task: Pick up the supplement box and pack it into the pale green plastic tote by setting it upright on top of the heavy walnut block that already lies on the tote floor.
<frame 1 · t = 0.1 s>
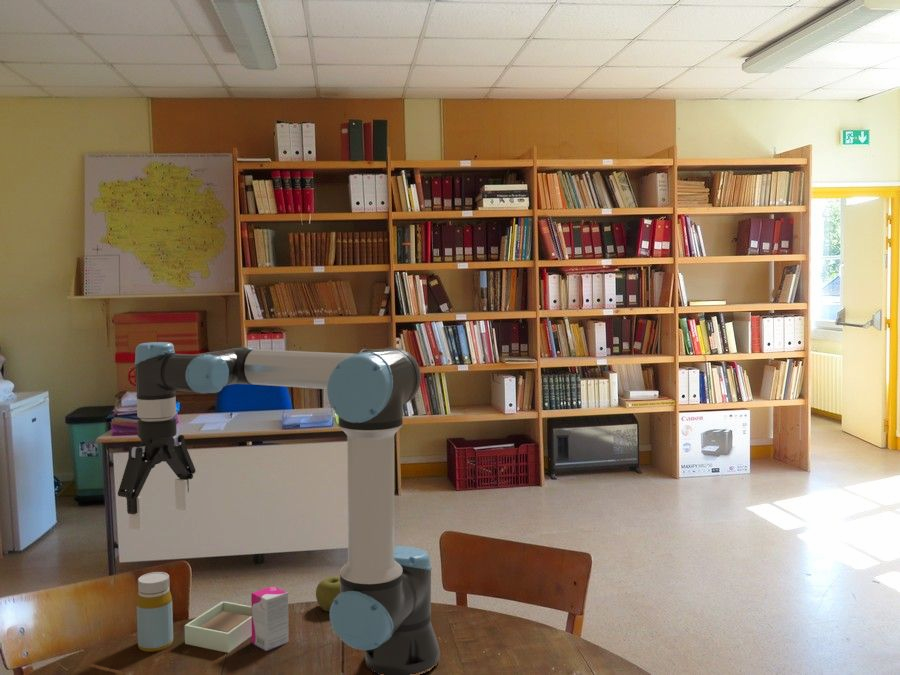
hand: (159, 518, 163), 28 cm above the table, fingers open, 13 cm apart
supplement box: (270, 645, 167), on the table
walnut block: (225, 634, 171), resting on tote
bottle: (155, 647, 167), on the table
tote: (225, 636, 171), on the table
apple: (333, 610, 185), on the table
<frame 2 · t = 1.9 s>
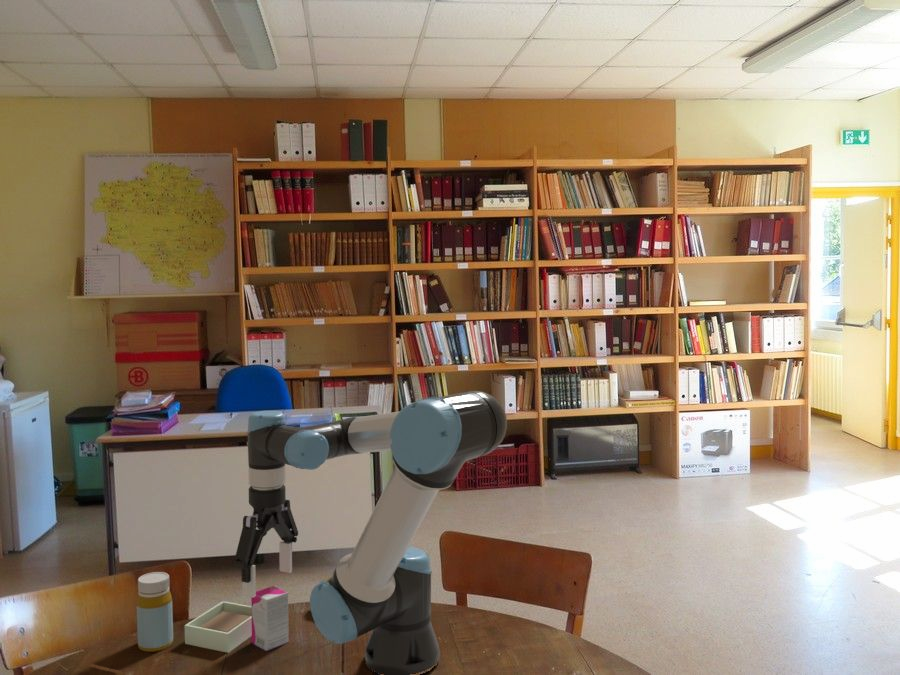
hand: (268, 583, 166), 13 cm above the table, fingers open, 13 cm apart
nothing on the table moved.
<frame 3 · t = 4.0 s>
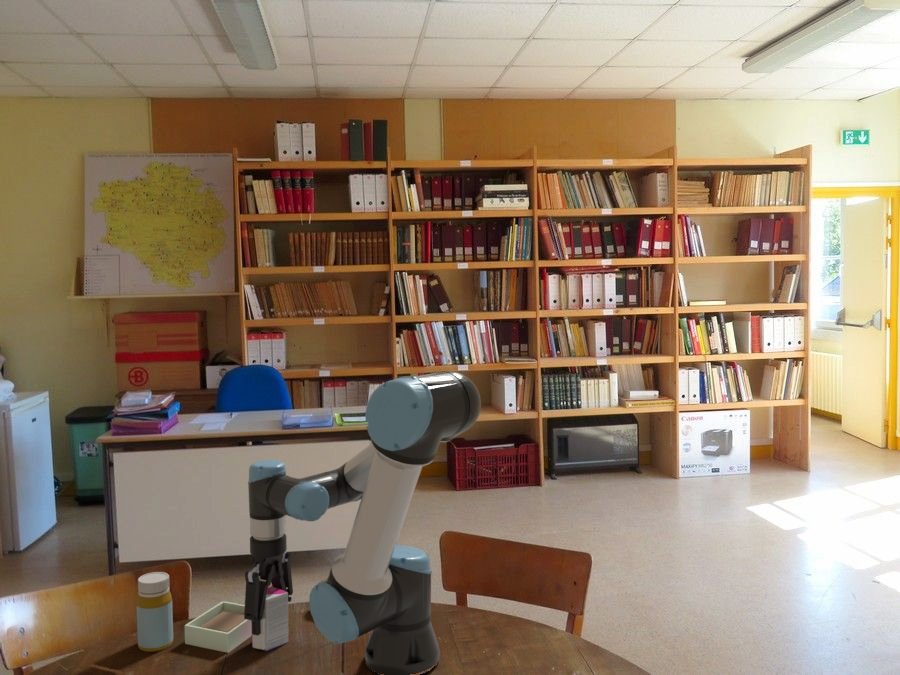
hand: (270, 639, 167), 1 cm above the table, fingers closed on supplement box, 7 cm apart
supplement box: (270, 645, 167), on the table, touching gripper
everything else where it was.
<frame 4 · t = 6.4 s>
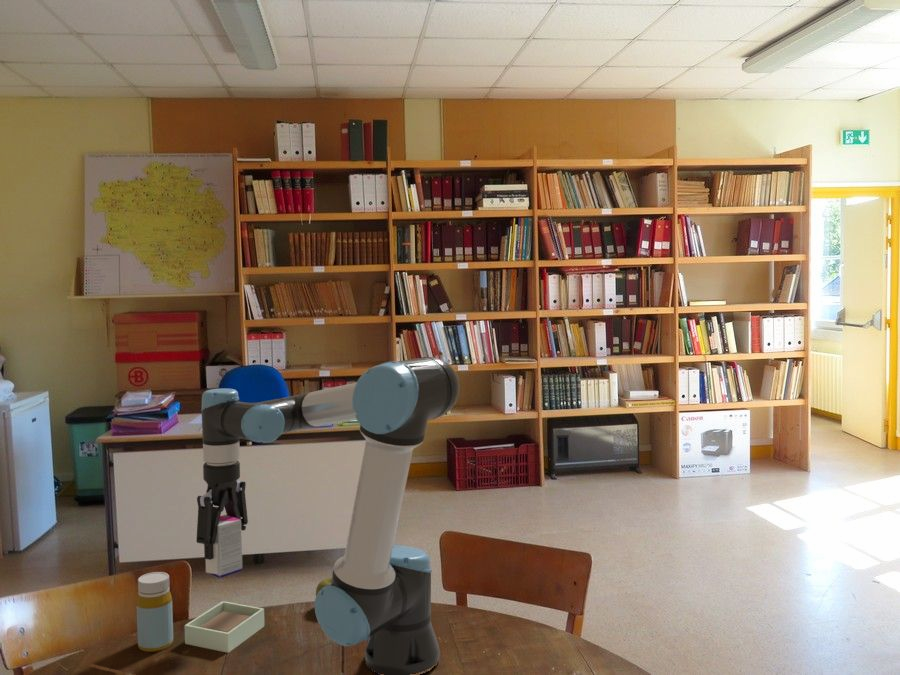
hand: (223, 565, 169), 16 cm above the table, fingers closed on supplement box, 7 cm apart
supplement box: (224, 572, 170), point 14 cm above the table, touching gripper
everything else where it was.
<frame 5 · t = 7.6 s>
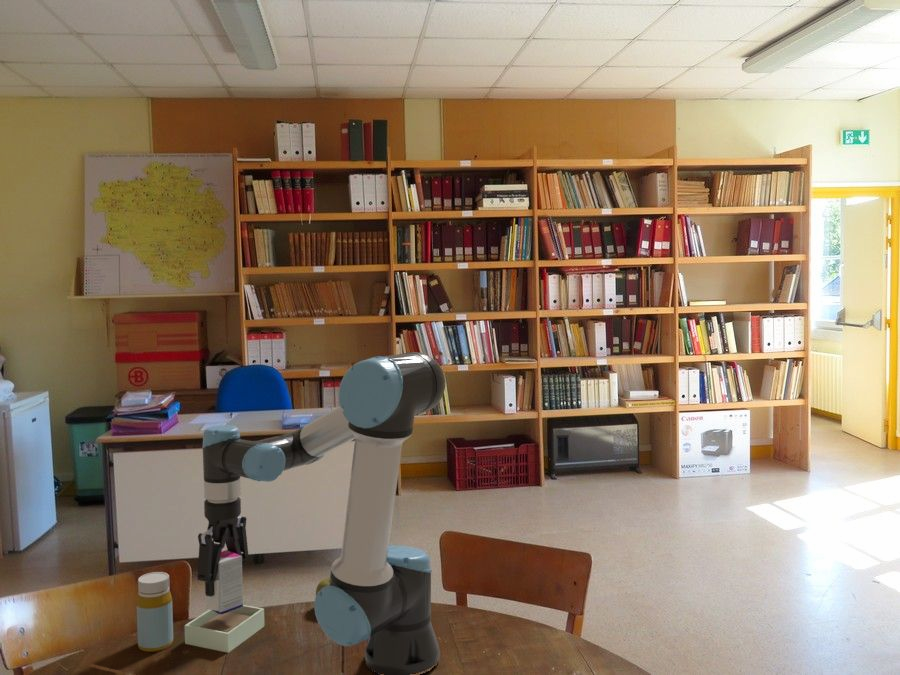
hand: (224, 601, 170), 8 cm above the table, fingers closed on supplement box, 7 cm apart
supplement box: (225, 607, 170), point 6 cm above the table, touching gripper
everything else where it was.
when the fingers open (6 cm above the table, at t = 8.8 s): supplement box drops 1 cm, resting on walnut block.
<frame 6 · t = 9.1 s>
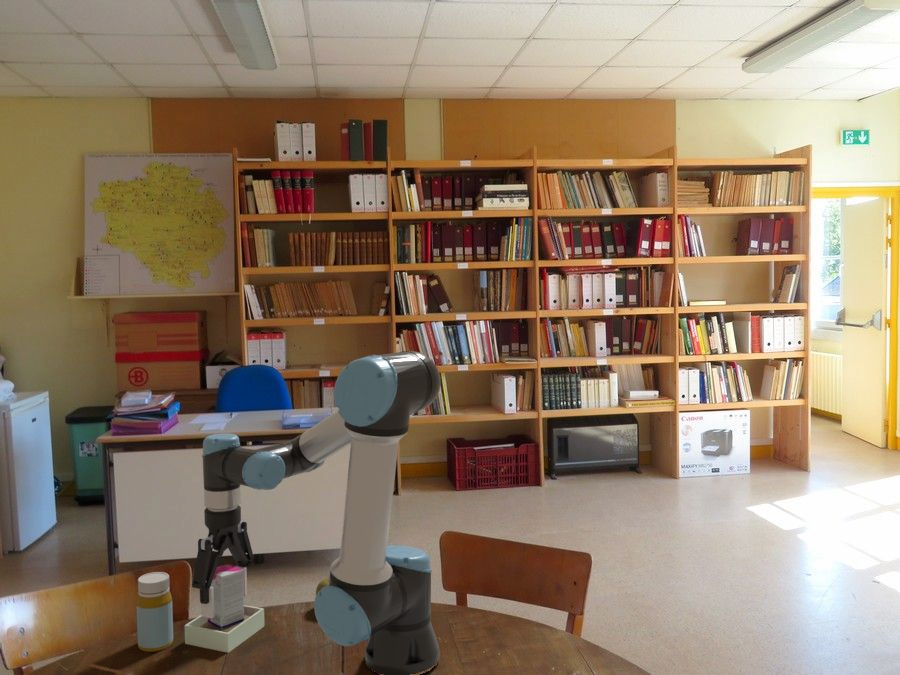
hand: (225, 605, 170), 7 cm above the table, fingers open, 11 cm apart
supplement box: (226, 622, 171), point 3 cm above the table, touching walnut block
walnut block: (225, 634, 171), resting on tote, touching supplement box
everything else where it was.
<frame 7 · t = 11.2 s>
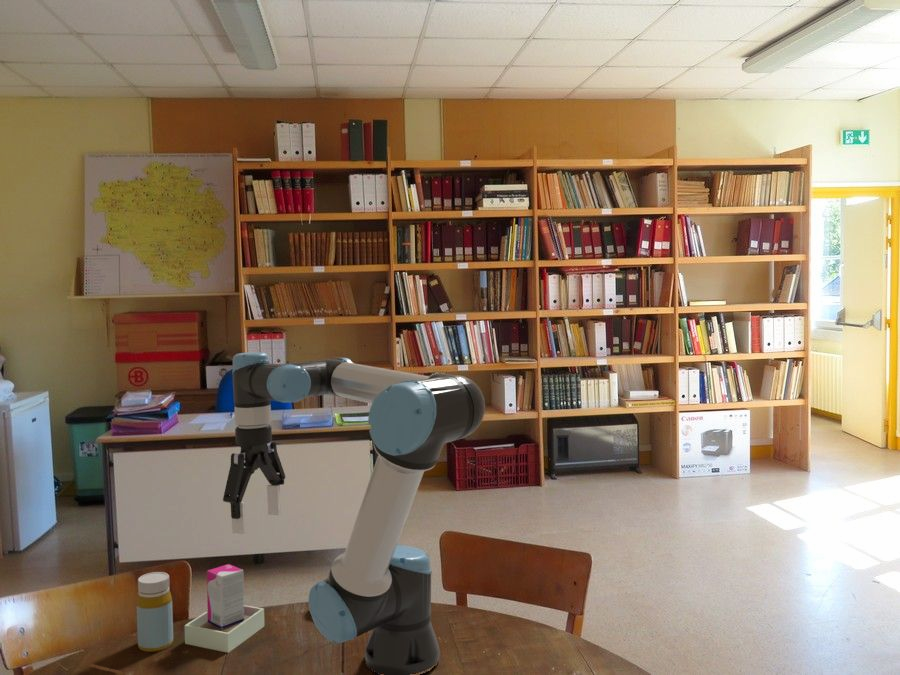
hand: (257, 523, 168), 25 cm above the table, fingers open, 13 cm apart
nothing on the table moved.
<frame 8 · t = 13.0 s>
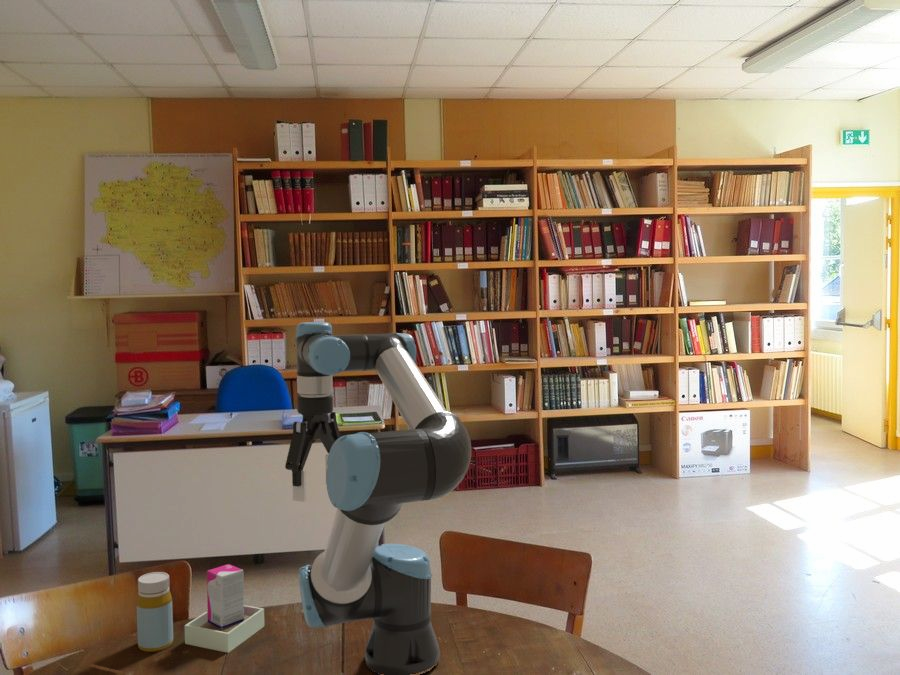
hand: (316, 492, 170), 32 cm above the table, fingers open, 13 cm apart
nothing on the table moved.
at the end: supplement box 0.1 cm off-centre on the walnut block, point 2.8 cm above the walnut block's base; supplement box tilted 0°; the gripper is holding nothing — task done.
